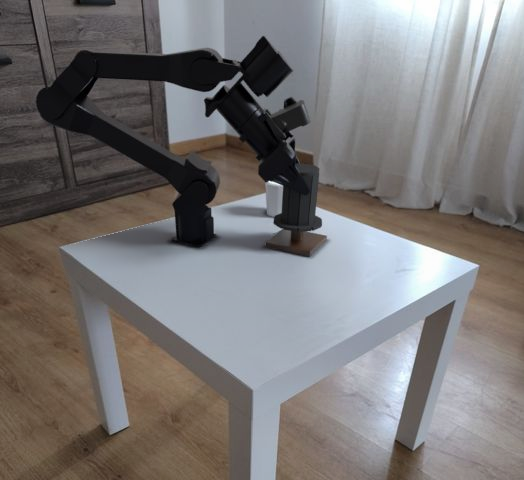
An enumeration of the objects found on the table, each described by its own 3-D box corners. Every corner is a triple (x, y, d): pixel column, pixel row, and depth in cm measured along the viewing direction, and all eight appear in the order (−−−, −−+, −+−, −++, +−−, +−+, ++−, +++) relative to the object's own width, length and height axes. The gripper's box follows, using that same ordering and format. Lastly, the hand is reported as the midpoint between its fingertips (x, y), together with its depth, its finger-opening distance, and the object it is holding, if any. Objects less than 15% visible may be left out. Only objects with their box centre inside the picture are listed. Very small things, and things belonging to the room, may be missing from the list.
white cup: (292, 220, 105) (294, 187, 101) (261, 217, 106) (261, 184, 102) (297, 209, 110) (299, 178, 106) (267, 207, 111) (268, 175, 107)
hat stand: (265, 247, 92) (266, 216, 89) (284, 231, 99) (286, 202, 96) (309, 256, 89) (312, 225, 86) (326, 240, 96) (329, 210, 92)
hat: (291, 235, 87) (295, 177, 81) (264, 218, 93) (266, 164, 87) (331, 227, 91) (338, 171, 85) (302, 211, 97) (307, 159, 91)
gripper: (283, 88, 71) (349, 170, 77) (283, 75, 86) (338, 144, 92) (229, 143, 75) (295, 216, 82) (239, 121, 91) (294, 184, 97)
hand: (307, 187), depth 88 cm, fingers closed on hat, 6 cm apart
